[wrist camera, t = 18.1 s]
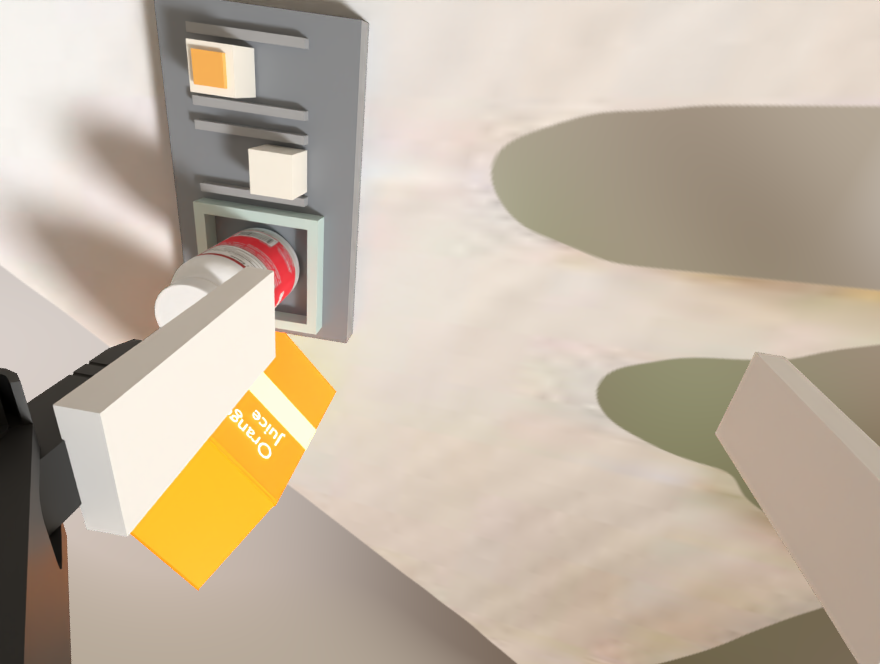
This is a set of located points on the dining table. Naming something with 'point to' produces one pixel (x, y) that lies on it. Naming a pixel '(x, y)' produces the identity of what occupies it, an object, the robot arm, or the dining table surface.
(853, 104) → the dining table surface
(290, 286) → the pill bottle
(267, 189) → the toggle plain
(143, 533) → the orange juice
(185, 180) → the panel
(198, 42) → the block
